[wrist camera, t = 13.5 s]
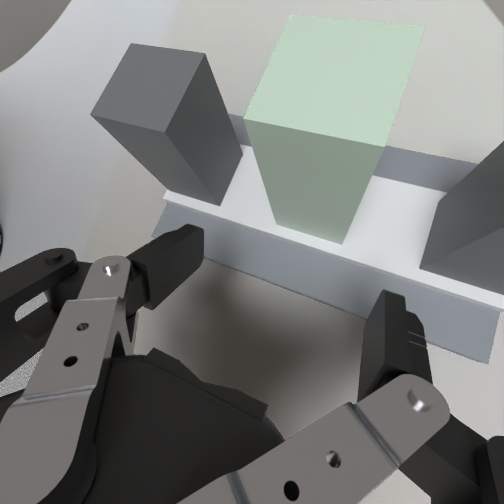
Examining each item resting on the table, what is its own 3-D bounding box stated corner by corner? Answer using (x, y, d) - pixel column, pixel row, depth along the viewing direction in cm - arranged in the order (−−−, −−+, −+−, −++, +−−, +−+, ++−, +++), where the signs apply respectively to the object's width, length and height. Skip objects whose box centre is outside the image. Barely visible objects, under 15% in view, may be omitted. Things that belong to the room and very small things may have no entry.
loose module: (276, 224, 18) (242, 118, 9) (299, 165, 19) (291, 10, 10) (341, 244, 17) (384, 146, 8) (363, 181, 18) (427, 20, 8)
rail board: (158, 240, 22) (48, 178, 13) (216, 119, 24) (158, -11, 15) (477, 361, 16) (726, 416, 6) (519, 183, 18) (754, 26, 8)
